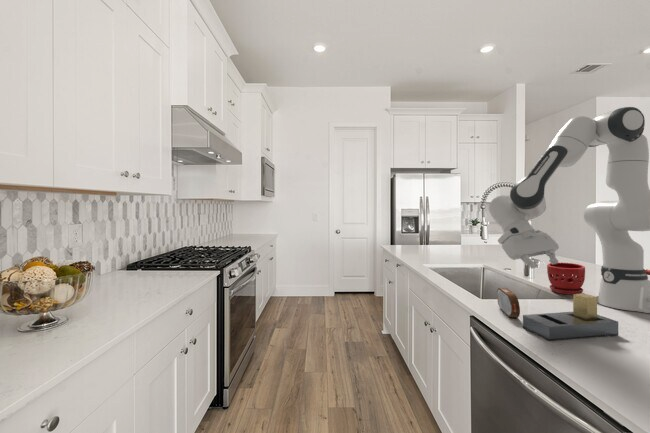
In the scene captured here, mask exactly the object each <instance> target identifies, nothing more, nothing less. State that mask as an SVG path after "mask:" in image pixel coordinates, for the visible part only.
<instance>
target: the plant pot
mask: <svg viewBox="0 0 650 433" xmlns="http://www.w3.org/2000/svg"><path fill="white" fill-rule="evenodd" d="M546 269H547V270H546V271H547V272H546V274H547V278H548V281H549V283H550V285H549V289H550V290H551V291H552V292H555V293H558V294H562V295H570V296H571V295H574V294H582V293H583V292H584V289H583V285H584V283H585V280H586V279H585V278H586V266H584V265H582V264H579V263H572V262H558V263H556V264H551V262H549V263H547V265H546Z"/></svg>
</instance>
